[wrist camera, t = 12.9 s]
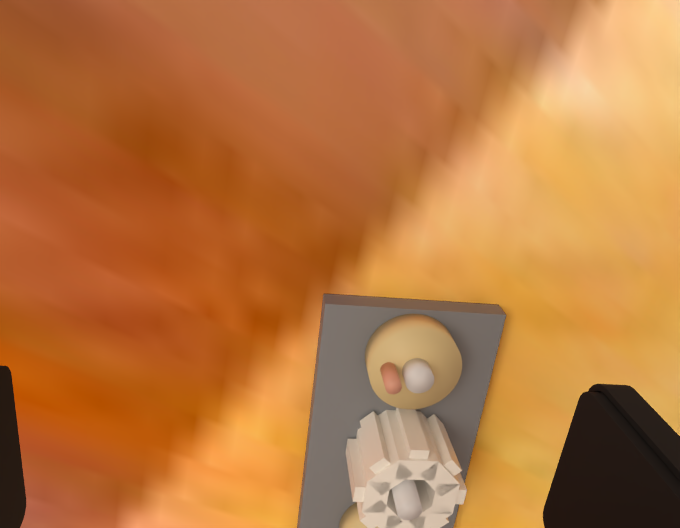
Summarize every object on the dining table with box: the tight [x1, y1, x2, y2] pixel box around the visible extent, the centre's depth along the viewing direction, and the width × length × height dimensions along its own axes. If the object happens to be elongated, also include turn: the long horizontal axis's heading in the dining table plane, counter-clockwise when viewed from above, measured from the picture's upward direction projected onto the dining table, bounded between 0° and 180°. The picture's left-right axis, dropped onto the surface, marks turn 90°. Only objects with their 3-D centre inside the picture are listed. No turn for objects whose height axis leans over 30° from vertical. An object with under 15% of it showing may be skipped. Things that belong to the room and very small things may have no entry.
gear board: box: [297, 294, 506, 528], centre depth 39 cm, size 12×22×8 cm, turn 174°
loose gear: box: [346, 408, 467, 528], centre depth 39 cm, size 7×7×5 cm
